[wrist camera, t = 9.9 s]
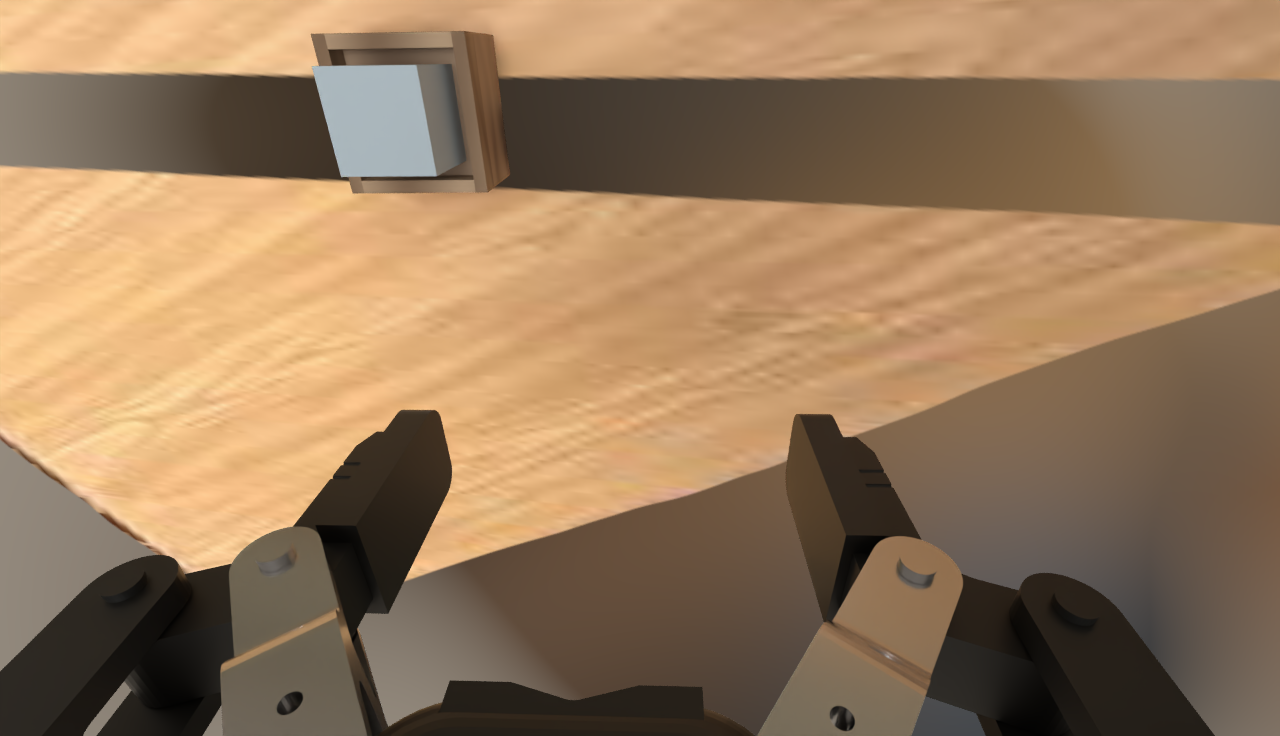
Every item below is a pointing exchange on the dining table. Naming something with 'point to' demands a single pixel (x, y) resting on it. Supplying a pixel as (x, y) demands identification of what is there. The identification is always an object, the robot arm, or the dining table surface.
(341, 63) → the walnut base
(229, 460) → the dining table surface
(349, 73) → the bluegrey cube
